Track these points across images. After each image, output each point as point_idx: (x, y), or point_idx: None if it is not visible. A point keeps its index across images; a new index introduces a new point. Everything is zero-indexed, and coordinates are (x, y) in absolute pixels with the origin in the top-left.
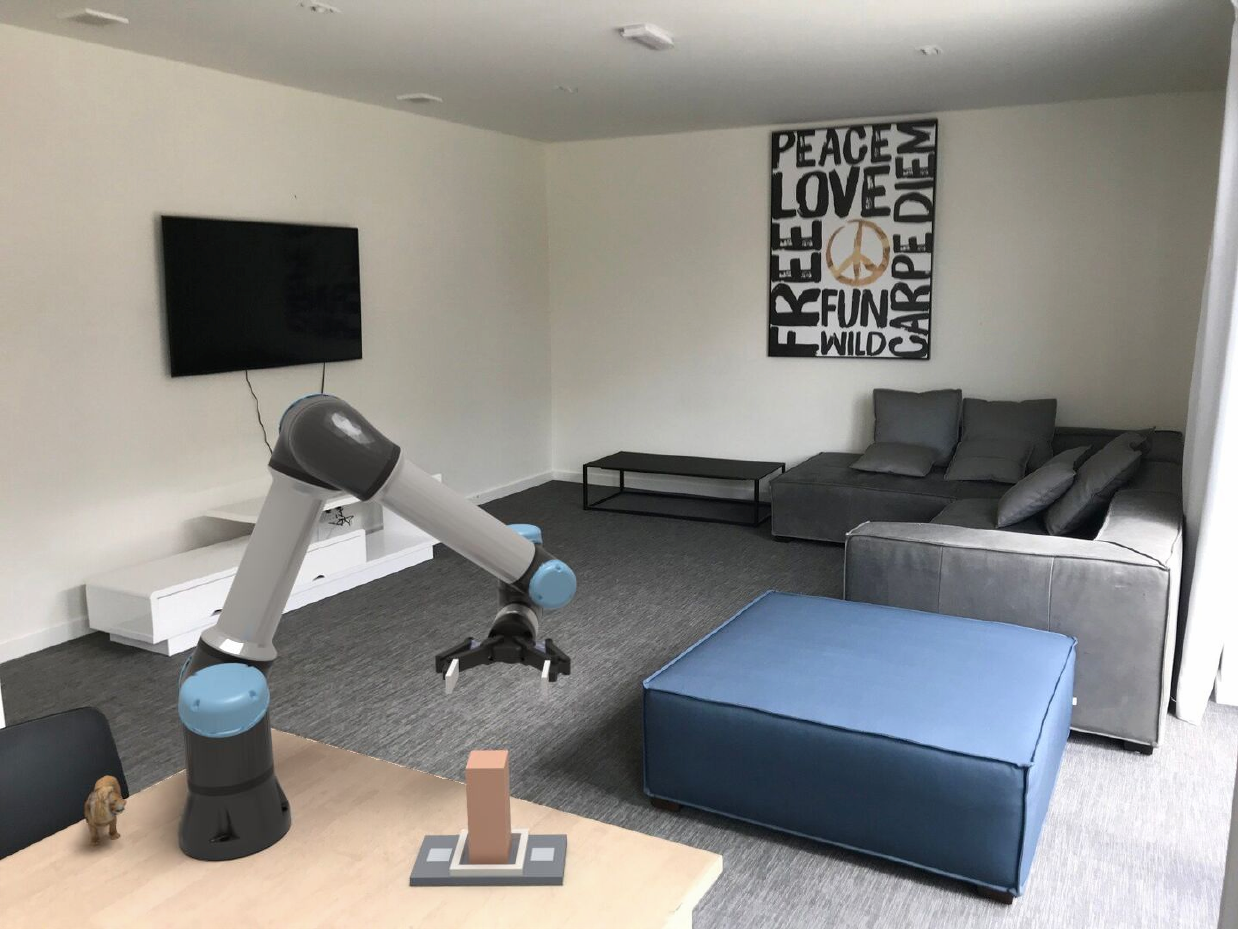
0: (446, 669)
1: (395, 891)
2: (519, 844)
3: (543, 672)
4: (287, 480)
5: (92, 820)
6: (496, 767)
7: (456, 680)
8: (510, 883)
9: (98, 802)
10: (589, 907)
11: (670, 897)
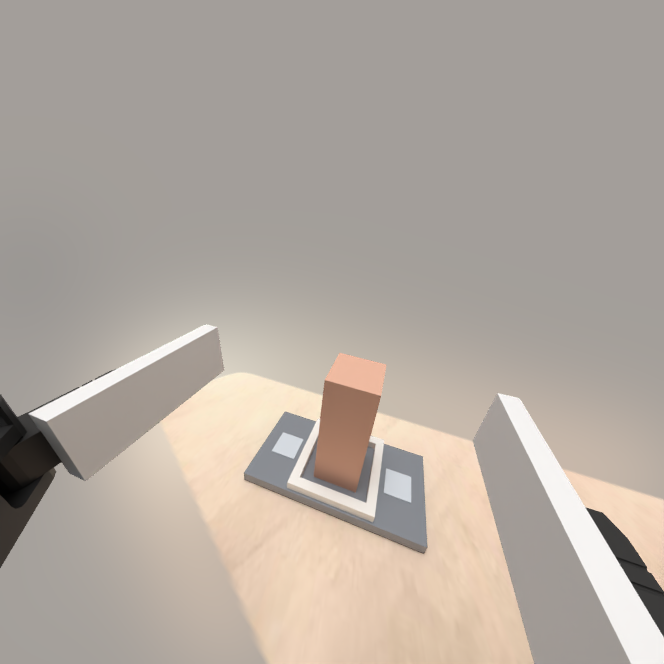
0: (601, 533)
1: (432, 459)
2: (308, 454)
3: (184, 343)
4: None
5: None
6: (347, 356)
7: (513, 574)
8: None
9: None
10: (277, 391)
11: (219, 382)
